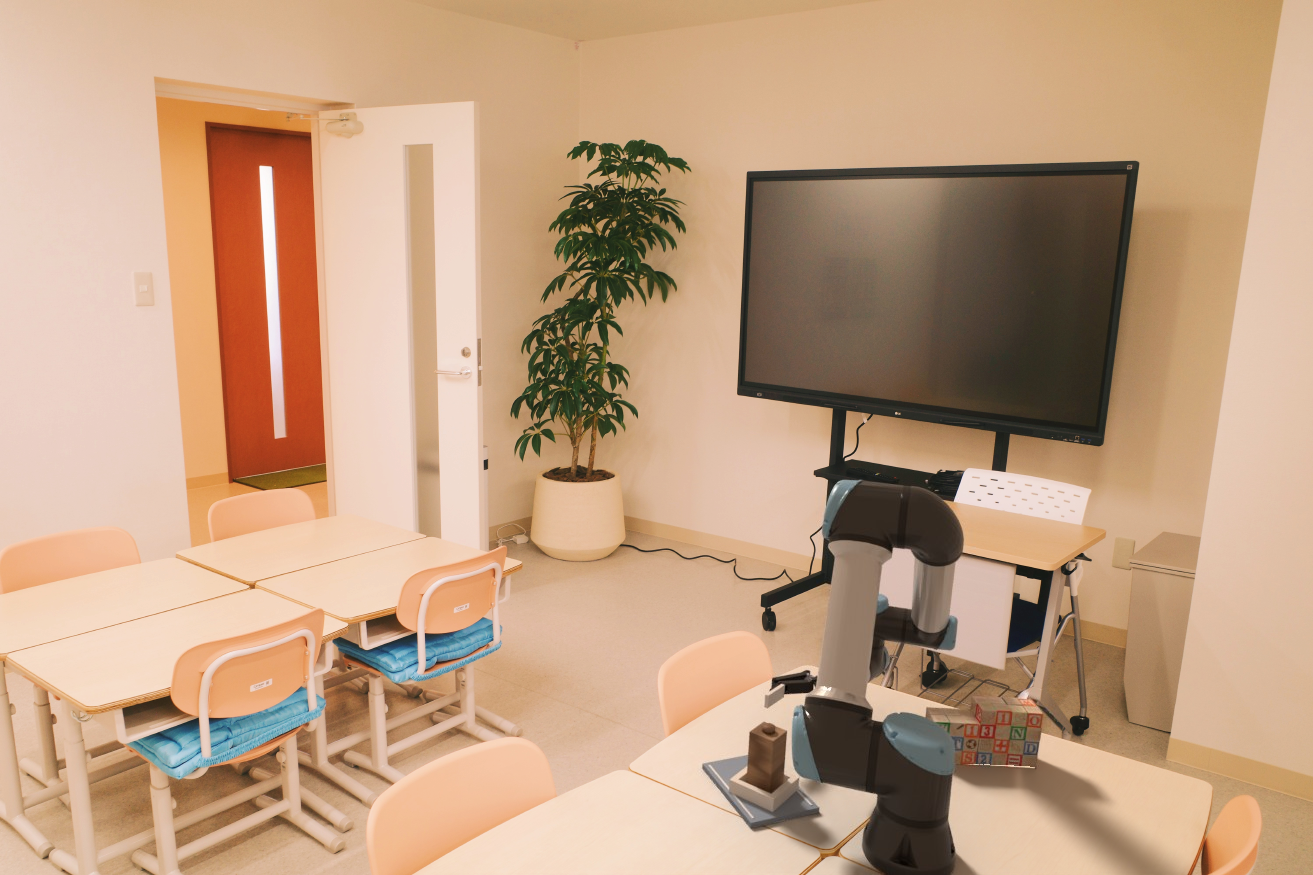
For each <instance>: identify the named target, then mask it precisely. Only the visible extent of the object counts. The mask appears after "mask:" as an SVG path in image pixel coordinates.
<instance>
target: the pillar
mask: <svg viewBox="0 0 1313 875" xmlns="http://www.w3.org/2000/svg"><path fill="white" fill-rule="evenodd" d="M787 736H788V730H786V729H784V728H781V727H778V726H776V725H775V724H773V723H770V722H766V721H762V722H761V723H760V724H758V725H757V726H755V727H754V728H753V729H751V730H749V736H748V737H749V738H748V751H747V755H748V765H747V781H746V783H748V784H750V785H752V786H755V787H757V788H759V789H761V790H764V791H766V792H768V793H771V794H772V793H773V792H774V791H775V790H776V789H778V788H779V787H780V786H781V785H782V784H783V782H784V771H785V765H786V753H787Z"/></svg>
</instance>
